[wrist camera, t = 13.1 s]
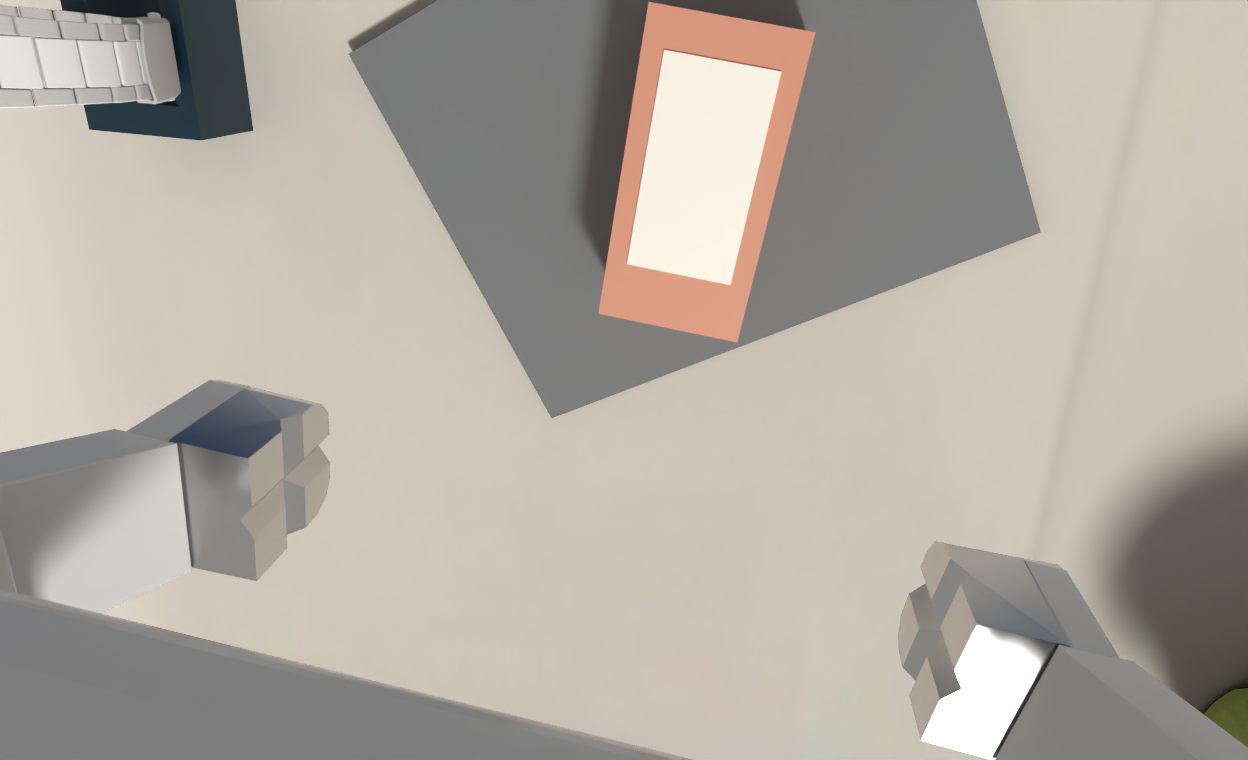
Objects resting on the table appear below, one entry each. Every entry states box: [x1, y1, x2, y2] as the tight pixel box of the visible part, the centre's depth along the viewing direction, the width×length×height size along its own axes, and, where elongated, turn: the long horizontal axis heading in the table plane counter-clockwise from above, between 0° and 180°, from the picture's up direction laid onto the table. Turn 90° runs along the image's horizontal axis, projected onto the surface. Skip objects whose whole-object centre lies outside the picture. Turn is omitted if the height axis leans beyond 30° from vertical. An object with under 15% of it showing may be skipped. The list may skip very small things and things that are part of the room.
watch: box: [0, 0, 253, 140], centre depth 23 cm, size 6×8×11 cm
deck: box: [598, 2, 816, 342], centre depth 26 cm, size 3×5×10 cm
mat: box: [349, 0, 1040, 418], centre depth 27 cm, size 20×16×1 cm
